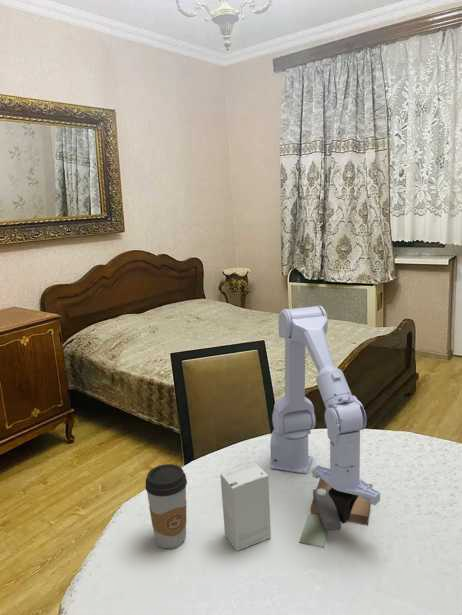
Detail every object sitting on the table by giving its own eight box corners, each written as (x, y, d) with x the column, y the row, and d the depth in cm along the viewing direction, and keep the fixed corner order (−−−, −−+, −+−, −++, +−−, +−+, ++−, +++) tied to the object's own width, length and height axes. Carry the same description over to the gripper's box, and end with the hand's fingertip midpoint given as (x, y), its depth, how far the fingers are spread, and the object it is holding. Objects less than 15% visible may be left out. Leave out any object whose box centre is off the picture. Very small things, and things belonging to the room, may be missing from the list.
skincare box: (257, 522, 105) (255, 460, 102) (272, 539, 100) (270, 474, 97) (222, 535, 102) (219, 471, 98) (235, 553, 96) (232, 486, 93)
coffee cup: (158, 558, 96) (152, 490, 93) (145, 534, 103) (138, 470, 100) (197, 543, 100) (192, 477, 96) (182, 521, 107) (177, 458, 104)
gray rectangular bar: (313, 497, 109) (313, 487, 109) (326, 496, 109) (326, 486, 109) (326, 531, 98) (326, 521, 97) (340, 530, 98) (341, 520, 98)
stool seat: (299, 542, 99) (299, 534, 98) (318, 483, 118) (318, 476, 118) (363, 555, 94) (363, 546, 94) (372, 492, 114) (372, 484, 113)
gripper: (388, 464, 95) (387, 526, 98) (326, 440, 105) (326, 497, 108) (369, 480, 90) (368, 544, 93) (305, 453, 100) (306, 512, 103)
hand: (344, 520), depth 100 cm, fingers closed, pressing on gray rectangular bar
